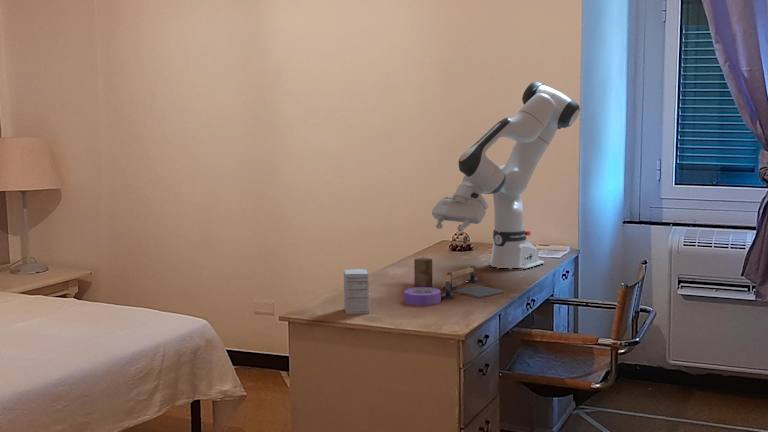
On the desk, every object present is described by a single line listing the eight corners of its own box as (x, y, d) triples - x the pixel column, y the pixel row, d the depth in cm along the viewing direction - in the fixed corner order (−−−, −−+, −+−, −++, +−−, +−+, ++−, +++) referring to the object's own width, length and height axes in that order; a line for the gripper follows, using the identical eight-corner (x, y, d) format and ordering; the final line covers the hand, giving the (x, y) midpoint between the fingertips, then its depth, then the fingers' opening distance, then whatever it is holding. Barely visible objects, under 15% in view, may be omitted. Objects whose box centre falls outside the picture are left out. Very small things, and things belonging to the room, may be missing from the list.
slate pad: (478, 287, 313) (478, 285, 313) (504, 292, 304) (504, 291, 304) (453, 292, 306) (453, 290, 305) (479, 298, 296) (479, 296, 296)
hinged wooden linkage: (458, 279, 327) (458, 264, 326) (478, 280, 324) (478, 265, 323) (429, 297, 298) (429, 281, 297) (451, 299, 295) (451, 283, 294)
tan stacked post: (422, 285, 317) (422, 257, 316) (432, 287, 314) (432, 258, 313) (414, 287, 314) (414, 259, 313) (424, 289, 311) (424, 260, 310)
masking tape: (429, 308, 285) (429, 296, 284) (397, 303, 291) (397, 292, 290) (447, 300, 294) (447, 289, 294) (415, 296, 301) (415, 285, 300)
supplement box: (344, 308, 284) (343, 269, 282) (367, 308, 284) (367, 268, 283) (345, 314, 276) (344, 273, 275) (369, 313, 277) (368, 273, 275)
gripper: (438, 191, 330) (421, 220, 324) (485, 195, 317) (468, 226, 311) (445, 202, 334) (429, 231, 328) (492, 207, 321) (475, 237, 315)
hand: (448, 229), depth 320 cm, fingers open, 8 cm apart
